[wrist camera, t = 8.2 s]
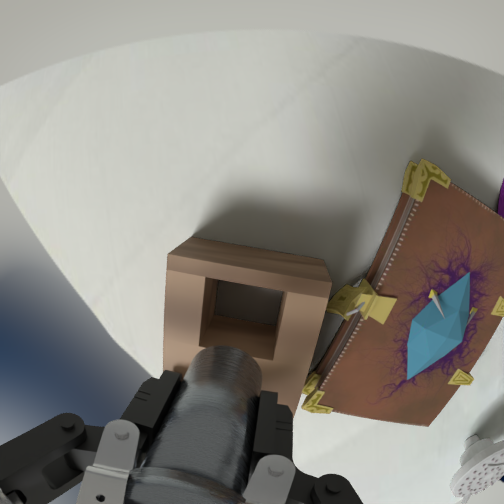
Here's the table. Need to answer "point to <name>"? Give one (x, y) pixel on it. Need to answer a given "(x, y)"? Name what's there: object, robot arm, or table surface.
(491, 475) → the showerhead
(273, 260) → the block
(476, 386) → the table surface
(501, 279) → the book
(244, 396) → the pin
